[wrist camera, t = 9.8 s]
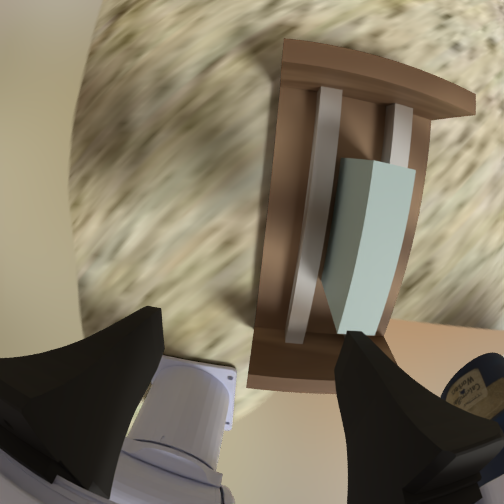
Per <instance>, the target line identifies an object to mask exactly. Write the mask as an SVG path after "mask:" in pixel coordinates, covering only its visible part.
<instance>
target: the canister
mask: <svg viewBox="0 0 504 504" xmlns="http://www.w3.org/2000/svg"><path fill="white" fill-rule="evenodd" d="M441 399H443V400H445V401H447V402H448V403H450V404H452V405H454V406H456V407H458V408H460V409H462V410H465V411H467V412H469V413H472V414H474V415H477V416H480V417H483V418H486V419H489V420H493V421H496V422H498V424H499V426H500V428H501V429H502V431H503V433H504V357H503V356H501V355H499V354H498V353H487V354H483V355H481V356H478V357H477V358H475V359H473V360H472V361H471V362H469V363H467V364H466V365H465V366H464V367H463V368H461V369H460V370H459V371H458V372H457V373H456V374H455V375H454V376H453V378H452V379H451V380H450V381H449V383H448V384H447V386H446V387H445V389H444V391H443V393H442V395H441ZM480 474H481V477H482V478H481V480H480V481H479V482H477V483H478V486H479V488H480V487H482V486H483V485H485V484H486V483H488V482H490V481H492V480H494V479H496V478H498V477H500V476H501V475H503V474H504V447H503V448H502V450H501V451H500V452H499V453H498V454H497V455H496V456H495V457H494V458H493V459H492V460H491V461H490V462H489V463H488V464H487V465H486V466H485V467H484V468H483V469H482V470H481V471H480Z"/></svg>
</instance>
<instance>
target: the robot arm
mask: <svg viewBox="0 0 504 504" xmlns="http://www.w3.org/2000/svg"><path fill="white" fill-rule="evenodd" d="M164 349H165V347H164V337H163V326H162V313H161V308H157V307H151V306H146V307H143V308H142V309H140V310H138V311H136V312H134V313H132V314H131V315H129V316H127V317H125V318H124V319H122V320H120V321H118V322H117V323H115V324H113V325H111V326H109V327H107V328H105V329H103V330H101V331H99V332H97V333H95V334H93V335H91V336H89V337H87V338H85V339H83V340H80V341H78V342H75V343H73V344H70V345H67V346H64V347H62V348H58V349H54V350H50V351H47V352H43V353H39V354H34V355H28V356H22V357H14V358H0V504H235V500H234V497H233V496H232V494H231V491H230V489H229V488H228V487H226V486H223V485H221V481H222V475H223V474H222V473H219V472H216V468H217V463H218V458H219V453H220V448H221V442H222V437H223V432H224V430H228V431H229V430H231V429H232V423H233V411H234V400H235V388H236V377H237V370H236V369H235V368H233V367H227V366H220V365H214V364H208V363H202V362H196V361H190V360H185V359H180V358H175V357H170V356H165V355H163V352H164ZM334 375H335V387H336V394H337V399H338V404H339V408H340V413H341V417H342V422H343V427H344V432H345V437H346V444H347V460H348V496H347V504H504V474H503V475H501V476H500V477H498V478H496V479H494V480H492V481H490V482H488V483H486V484H485V485H483V486H482V487H480V488H479V486H478V483H477V482H479V481H480V480H481V478H482V477H481V474H480V471H481V470H482V469H483V468H484V467H485V466H486V465H487V464H488V463H489V462H490V461H491V460H492V459H493V458H494V457H495V456H496V455H497V454H498V453H499V452H500V451H501V450H502V448H503V447H504V433H503V431H502V429H501V428H500V426H499V424H498V422H496V421H493V420H489V419H486V418H483V417H480V416H477V415H474V414H472V413H469V412H467V411H465V410H462V409H460V408H458V407H456V406H454V405H452V404H450V403H448V402H447V401H445V400H443V399H441V398H440V397H438V396H436V395H435V394H433V393H432V392H430V391H429V390H427V389H426V388H425V387H423V386H422V385H420V384H419V383H418V382H416V381H415V380H414V379H412V378H411V377H410V376H409V375H408V374H407V373H405V372H404V371H403V370H402V369H401V368H400V367H399V366H397V365H396V364H395V363H394V362H393V361H392V360H391V359H390V358H389V357H388V356H387V355H386V354H385V353H384V352H383V351H382V350H381V349H380V348H379V347H378V346H377V345H376V344H375V343H374V342H373V341H372V340H371V339H370V338H369V337H368V336H366V335H365V334H364V333H363V332H362V331H348V330H347V332H346V336H345V339H344V342H343V345H342V348H341V351H340V354H339V357H338V360H337V363H336V365H335V368H334ZM229 376H232V377H229ZM150 382H151V383H152V386H151V388H150V390H149V392H148V394H147V396H146V398H145V400H144V403H143V405H142V407H141V409H140V411H139V413H138V415H137V417H136V419H135V421H134V423H133V426H132V428H131V430H130V432H129V434H128V436H127V437H125V436H126V433H127V431H128V428H129V425H130V422H131V420H132V417H133V415H134V413H135V410H136V408H137V406H138V405H139V403H140V401H141V399H142V397H143V395H144V393H145V391H146V390H147V388H148V386H149V384H150Z"/></svg>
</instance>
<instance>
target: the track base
mask: <svg viewBox="0 0 504 504" xmlns="http://www.w3.org/2000/svg"><path fill="white" fill-rule="evenodd" d="M471 115H476V94H474V93H472V92H470V91H468V90H466V89H464V88H462V87H460V86H458V85H456V84H454V83H451V82H449V81H447V80H445V79H442V78H440V77H437V76H435V75H432V74H430V73H427V72H425V71H422V70H420V69H417V68H414V67H411V66H408V65H405V64H402V63H399V62H396V61H393V60H390V59H387V58H383V57H380V56H376V55H372V54H369V53H365V52H361V51H357V50H352V49H348V48H343V47H338V46H333V45H328V44H322V43H316V42H310V41H302V40H295V39H286V38H284V43H283V54H282V67H281V83H280V94H279V105H278V115H277V125H276V135H275V145H274V155H273V165H272V174H271V184H270V193H269V203H268V212H267V221H266V230H265V239H264V248H263V257H262V266H261V275H260V283H259V292H258V301H257V309H256V318H255V326H254V334H253V341H252V349H251V356H250V363H249V371H248V379H247V387H246V388H252V389H261V390H272V391H283V392H299V393H320V394H336V387H335V375H334V368H335V365H336V363H337V360H338V357H339V354H340V351H341V348H342V345H343V342H344V339H345V336H346V334H337V331H336V327H335V324H334V321H333V317H332V314H331V311H330V308H329V304H328V301H327V298H326V295H325V292H324V288H323V285H322V282H321V278H322V273H323V268H324V263H325V258H326V253H327V247H328V241H329V236H330V230H331V224H332V218H333V211H334V205H335V198H336V191H337V184H338V177H339V169H340V161H341V158H354V159H365V160H375V161H379V162H384V163H388V164H393V165H397V166H401V167H405V168H409V169H413V170H416V173H415V180H414V187H413V193H412V199H411V204H410V210H409V215H408V220H407V225H406V229H405V234H404V238H403V243H402V247H401V251H400V255H399V259H398V263H397V266H396V270H395V274H394V277H393V281H392V284H391V288H390V291H389V294H388V298H387V301H386V304H385V307H384V310H383V313H382V316H381V319H380V322H379V325H378V328H377V331H376V333H375V335H366V336H368V337H369V338H370V339H371V340H372V341H373V342H374V343H375V344H376V345H377V346H378V347H379V348H380V349H381V350H382V351H383V352H384V353H385V354H386V355H387V356H388V357H389V358H390V359H391V360H392V361H393V362H394V363H395V364H396V365H397V363H396V361H395V359H394V357H393V355H392V353H391V350H390V348H389V346H388V344H387V342H386V340H385V338H384V334H385V331H386V328H387V325H388V323H389V320H390V317H391V314H392V312H393V309H394V306H395V303H396V300H397V296H398V293H399V290H400V287H401V284H402V280H403V277H404V273H405V270H406V266H407V263H408V259H409V255H410V251H411V247H412V243H413V239H414V234H415V230H416V225H417V221H418V216H419V211H420V206H421V200H422V194H423V188H424V182H425V175H426V168H427V160H428V151H429V141H430V129H431V120H437V119H445V118H453V117H461V116H471ZM397 366H398V365H397Z"/></svg>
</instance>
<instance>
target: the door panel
mask: <svg viewBox="0 0 504 504" xmlns="http://www.w3.org/2000/svg"><path fill="white" fill-rule="evenodd" d="M415 173H416V170H413V169H409V168H405V167H401V166H397V165H393V164H388V163H384V162H379V161H375V160H365V159H354V158H341V161H340V169H339V177H338V184H337V191H336V198H335V205H334V211H333V218H332V224H331V230H330V236H329V241H328V247H327V253H326V258H325V263H324V268H323V273H322V278H321V282H322V285H323V288H324V292H325V295H326V298H327V301H328V304H329V308H330V311H331V314H332V317H333V321H334V324H335V327H336V331H337V334H346V332H347V330H348V331H362V332H363V333H364V334H365V335H375V333H376V331H377V328H378V325H379V322H380V319H381V316H382V313H383V310H384V307H385V304H386V301H387V298H388V294H389V291H390V288H391V284H392V281H393V277H394V274H395V270H396V266H397V263H398V259H399V255H400V251H401V247H402V243H403V238H404V234H405V229H406V225H407V220H408V215H409V210H410V204H411V199H412V193H413V187H414V180H415Z"/></svg>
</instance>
